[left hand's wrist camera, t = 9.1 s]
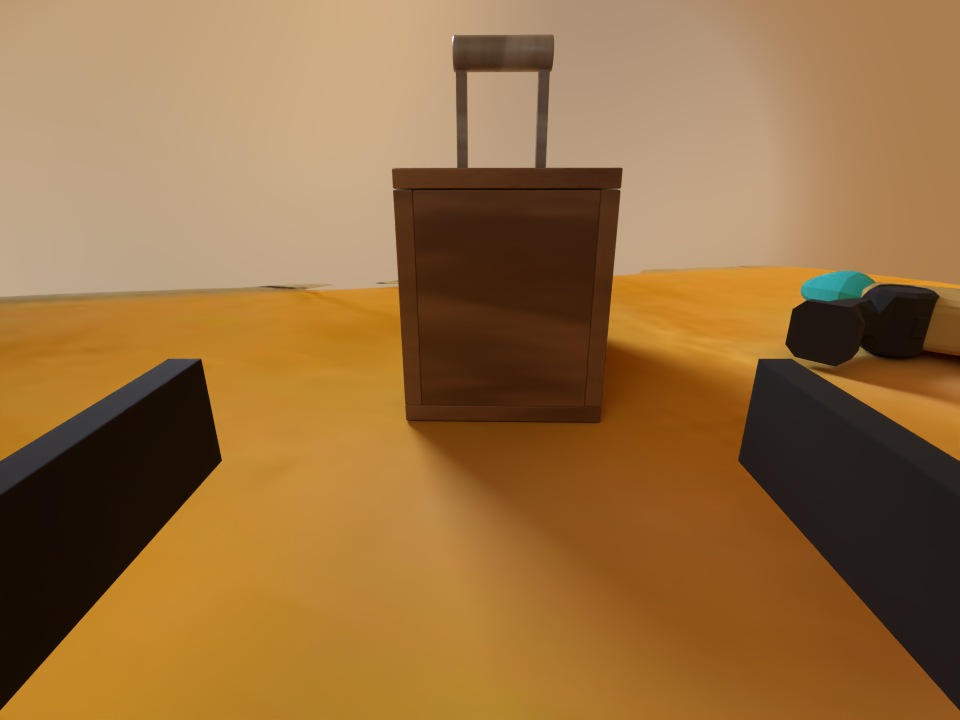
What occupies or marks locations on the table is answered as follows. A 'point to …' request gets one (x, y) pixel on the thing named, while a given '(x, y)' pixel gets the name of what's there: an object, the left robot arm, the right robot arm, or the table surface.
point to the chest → (505, 301)
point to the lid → (536, 57)
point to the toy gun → (872, 319)
